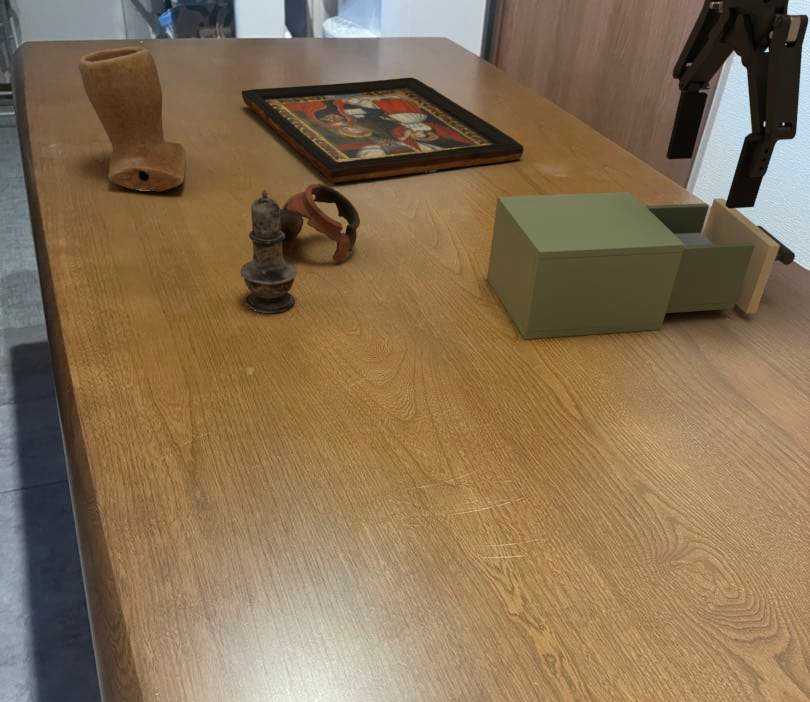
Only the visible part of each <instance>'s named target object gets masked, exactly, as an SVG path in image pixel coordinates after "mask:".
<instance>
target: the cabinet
mask: <svg viewBox="0 0 810 702" xmlns="http://www.w3.org/2000/svg"><path fill="white" fill-rule="evenodd" d="M645 206H646V205H645V204H644V203H642V202H641V201H640V199H638V198H637V197H636V196H635V195H634V194H633V193H632V192H631V191H617V192H616V191H615V192H614V191H613V192H590V193H587V192H586V193H563V194H533V195H532V194H531V195H509V196H508V195H507V196H497V201H496V208H495V215H494V222H493V223H494V224H493V231H492V238H491V246H490V254H489V262H488V269H487V277H486V280H487V281H488V283H489V285H490V286H491V288H492V289H493V291H494V293H495V294H496V296H497V297H498V299H499V301H500V302H501V304H502V305H503V307H504V309H505V310H506V312H507V313H508V316H510V318H511V320H512V321H513V323H514V324H515V327H517V329H518V330H519V332H520V334H521V335H522V337H523V339H524V340H533V339H534V340H536V339H547V338H548V339H549V338H565V337H577V336H590V335H606V334H617V333H618V334H619V333H632V332H634V333H635V332H645V331H646V332H647V331H659V330H661V329H662V327H663V323H664V320H665V317H666V314H667V313H666V310H667V306H668V303H669V299H670V296H671V292H672V289H673V285H674V282H675V278H676V275H677V271H678V268H679V264H680V261H681V257H682V254H683V250H684V247H685V244H684V243H683V242H682V241H681V240H680V239H679V238H678V237H677V236H675V235H674V234H673V233H672V232H671V231H670V230H669V229H668V228H667V227H666V226H665V225H664V224H663V223H662V222H661V221H660V220H659V219H658V218H657V217H656V216H655V215H654V214H653V213H652V212H651V211H650V210H648V209H647V208H646V207H645Z"/></svg>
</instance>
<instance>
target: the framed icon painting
mask: <svg viewBox="0 0 810 702" xmlns="http://www.w3.org/2000/svg"><path fill="white" fill-rule="evenodd" d="M241 97H242V99H243V102H244V103H245V105H246V106H247V107H248V108H250V109H251V110H252V111H253V112H254V113H255V114H256V115H258V116H259V118H260V119H262V121H264V122H265V123H266V124H267V125H268V126H269V127H270V128H272V129H273V131H275V132H276V133H277V134H278V135H279V136H280V137H282V138H283V139H285V140H286V141H287V142H288V143H289V144H290V145H291V146H292V147H293V149H295V150H296V151H297V152H298V153H299V154H301V155H302V156H303V157H304V158H305V159H306V160H307V161H309V162H310V163H311V164H312V165H313V167H315V169H316V170H318V171H319V172H320V173H321V174H322V175H324V176H325V177H326V178H327V179H328V180H329V181H330V182H332V183H343V182H351V181H360V180H369V179H377V178H386V177H387V178H388V177H393V176H400V175H401V176H402V175H407V174H416V173H424V172H425V174H426V173H428V172H429V173H435V172H437V171H439V170H445V169H446V170H447V169H452V168H462V167H463V168H464V167H469V166H470V167H471V166H479V165H488V164H493V163H494V164H495V163H503V162H509V161H515V160H519V159H521V158H522V157H523V154H524V145H522V144H521V143H519V142H518V141H517V140H515V139H514V138H513V137H511V136H510V135H508V134H506V133H505V132H503V131H502V130H500V129H499V128H497V127H496V126H494V125H492V124H491V123H489V122H488V121H486V120H484V119H483V118H481V117H480V116H477V115H476V114H475V113H473V112H471V111H469V110H468V109H466V108H465V107H463V106H461V105H459V104H458V103H456V102H455V101H454V100H451V98H449V97H447V96H445V95H443V94H442V93H440V92H439V91H438V90H436V89H435V88H433V87H431V86H429V85H427V84H426V83H424V82H423V81H421V80H419V79H417V78H415V77H400V78H399V77H398V78H390V79H379V80H378V79H377V80H369V81H368V80H367V81H366V80H365V81H357V82H341V83H330V84H315V85H299V86H285V87H283V86H282V87H268V88H267V87H265V88H253V89H247V90H241Z"/></svg>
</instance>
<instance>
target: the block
mask: <svg viewBox="0 0 810 702" xmlns="http://www.w3.org/2000/svg"><path fill="white" fill-rule="evenodd" d="M703 234H704V233H702V232H701V233H686V234H674V235H675V236H677V237H678V238H679V239H680V240H681V241H682V242H683V243H684V244H685V246H687V245H707V244H713V243H712V242H710V241H709V240H708V239H707V238H706V237H705V236H704V235H703Z"/></svg>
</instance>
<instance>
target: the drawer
mask: <svg viewBox="0 0 810 702" xmlns="http://www.w3.org/2000/svg"><path fill="white" fill-rule="evenodd" d="M726 201H727V199H725V198H724V197H723V198H722V197H721V198H720V197H719V198H713V201H712V204H711V207H710V210H709V205H708V204H707V203H683V204H681V203H679V204H657V205H644V206H645V207H646V208H647V209H648V210H650V211H651V212H652V213H653V214H654V215H655V216H656V217H657V218H658V219H659V220H660V221H661V222H662V223H663V224H664V225H665V226H666V227H667V228H668V229H669V230H670V231H671V232H672V233H673V234H686V233H702V231H703V227H704V225H705V228H704V231H703V233H702V234H703V235H704V236H705V237H706V238H707V239H708V240H709V241H710V242H712V243H713V244H707V245H687V246H685V247H684V250H683V254H682V257H681V261H680V264H679V268H678V271H677V275H676V278H675V282H674V285H673V289H672V292H671V296H670V299H669V303H668V306H667V310H666V313H665V314H674V313H689V312H690V313H691V312H702V311H704V312H705V311H719V310H721V311H722V310H733V309H734V307H735V305H737V306H738V307H739V308H740V309H741V310H742V311H743V312H744V313H745V314H756V313H757V310H758V307H759V305H760V302H761V300H762V296H763V294H764V292H765V288H766V285H767V283H768V280H769V277H770V275H771V273H772V269H773V267H774V264H775V262H780V263H781V264H783V265H785V266H788V265H790V264H792V263H793V262H794V260H795V258H796V254H795V252H793V251H792V250H791V249H790V248H789V247H787V245H785V244H784V243H783V242H781V241H780V240H779V239H778V238H776V237H775V236H774V235H772V233H770V232H769V231H767V229H765V228H764V227H763V226H762V225H756V224H755V223H754V222H752V220H750V219H749V218H748V217H746V215H744V214H743V213H742V212H740V211H739V210H738V208H731V209H729V208H728V207H726V206H725V205H726ZM708 210H709V214H708ZM707 214H708V217H707ZM706 217H707V220H706ZM705 221H706V224H705Z"/></svg>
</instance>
